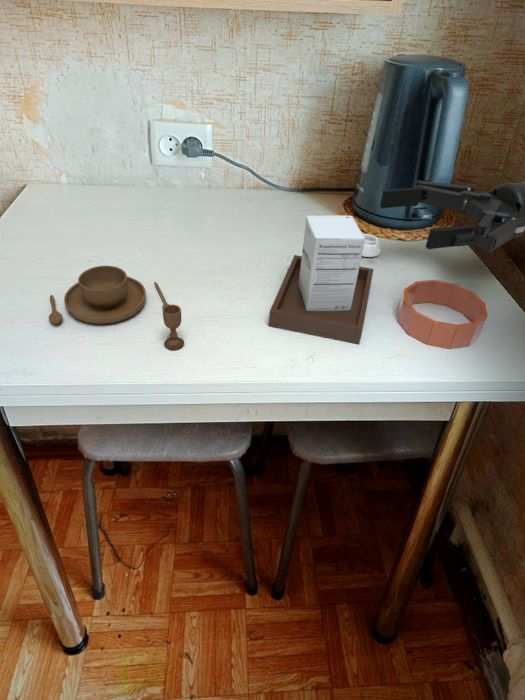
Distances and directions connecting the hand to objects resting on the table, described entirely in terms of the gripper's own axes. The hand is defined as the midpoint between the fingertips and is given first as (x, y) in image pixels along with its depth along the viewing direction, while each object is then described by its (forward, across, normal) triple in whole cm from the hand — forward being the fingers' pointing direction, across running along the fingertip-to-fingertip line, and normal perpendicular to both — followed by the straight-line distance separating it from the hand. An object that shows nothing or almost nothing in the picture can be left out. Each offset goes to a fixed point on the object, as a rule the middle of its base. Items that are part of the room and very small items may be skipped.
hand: (404, 217), depth 75 cm
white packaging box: (+11, +1, -13) cm, 17 cm away
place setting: (+43, +4, -14) cm, 45 cm away
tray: (+11, +1, -14) cm, 18 cm away
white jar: (-4, +15, -14) cm, 21 cm away
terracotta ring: (-5, -8, -14) cm, 17 cm away
